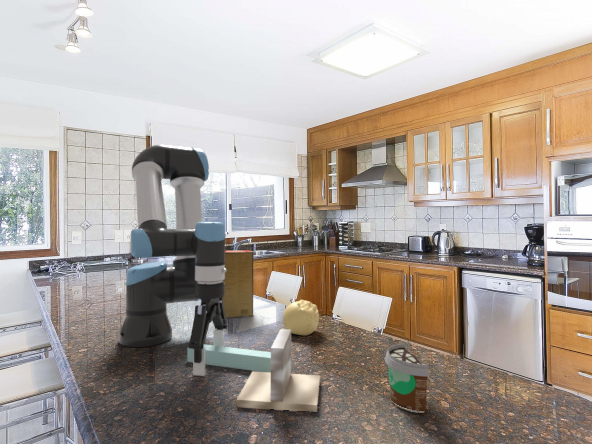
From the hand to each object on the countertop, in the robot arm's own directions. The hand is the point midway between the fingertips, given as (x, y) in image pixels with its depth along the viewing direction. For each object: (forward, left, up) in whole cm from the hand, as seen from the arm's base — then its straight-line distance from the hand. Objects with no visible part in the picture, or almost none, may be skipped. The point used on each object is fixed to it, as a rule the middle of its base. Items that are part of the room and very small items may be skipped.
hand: (209, 363), depth 90 cm
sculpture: (+21, +28, 0) cm, 35 cm away
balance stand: (+21, -13, 0) cm, 24 cm away
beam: (+7, 0, 0) cm, 7 cm away
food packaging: (-7, +46, 0) cm, 47 cm away
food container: (+46, -13, 0) cm, 48 cm away
